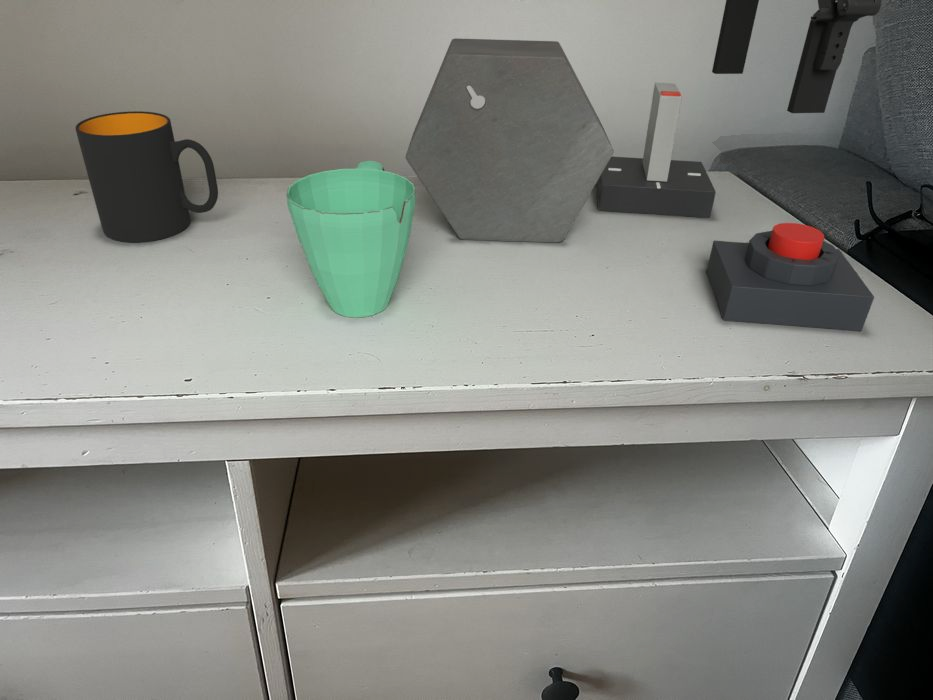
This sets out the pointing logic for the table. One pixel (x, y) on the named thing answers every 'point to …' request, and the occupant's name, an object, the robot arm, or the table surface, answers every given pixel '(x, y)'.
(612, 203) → the lever base
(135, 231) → the mug
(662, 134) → the upright gray panel
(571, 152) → the grey hexagonal block
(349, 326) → the table surface
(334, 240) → the mug
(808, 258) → the button
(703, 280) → the table surface
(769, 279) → the button block
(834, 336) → the table surface
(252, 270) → the table surface
